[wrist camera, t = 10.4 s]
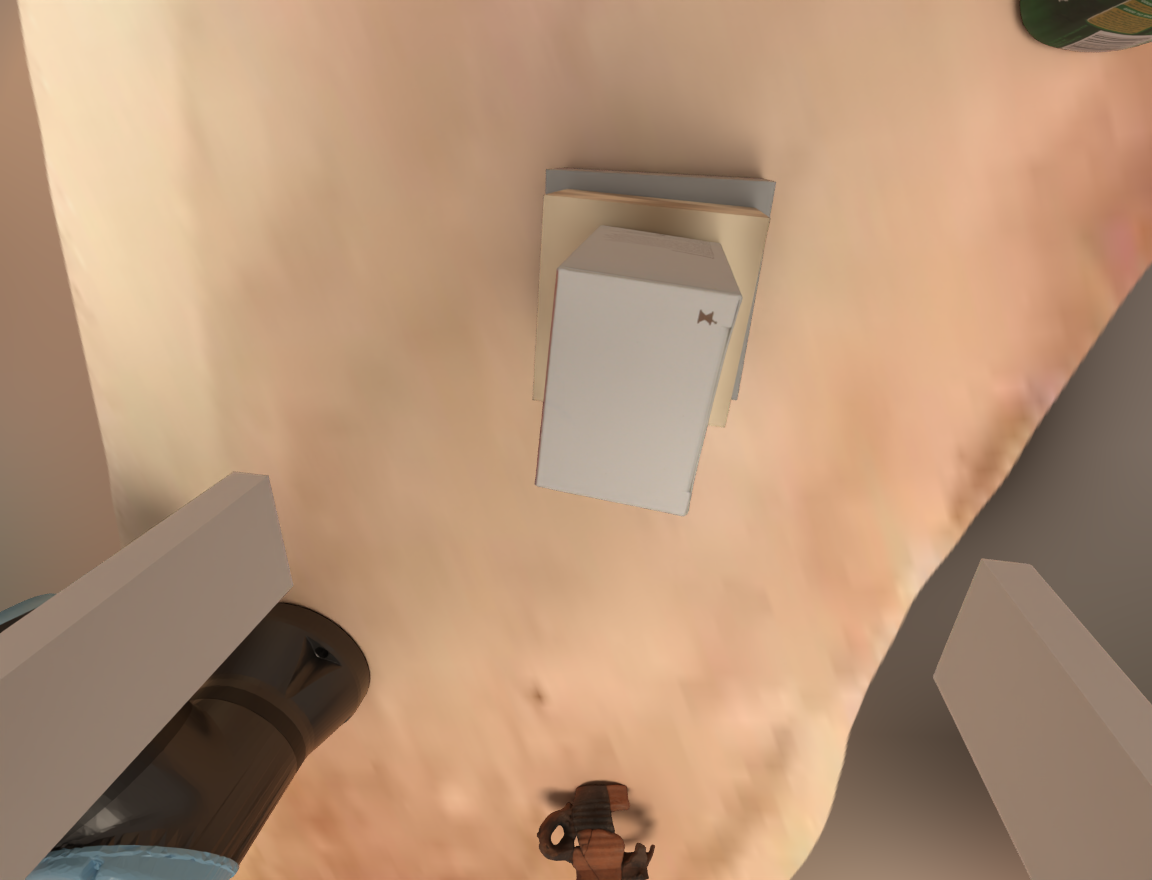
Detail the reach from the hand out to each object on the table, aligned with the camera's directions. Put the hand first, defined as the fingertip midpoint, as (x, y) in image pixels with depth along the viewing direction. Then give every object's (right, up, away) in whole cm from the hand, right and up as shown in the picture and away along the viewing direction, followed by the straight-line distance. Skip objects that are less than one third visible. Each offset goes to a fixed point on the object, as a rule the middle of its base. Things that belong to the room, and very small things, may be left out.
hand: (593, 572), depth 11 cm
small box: (+3, +8, +17) cm, 19 cm away
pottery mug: (+2, -37, +52) cm, 64 cm away
